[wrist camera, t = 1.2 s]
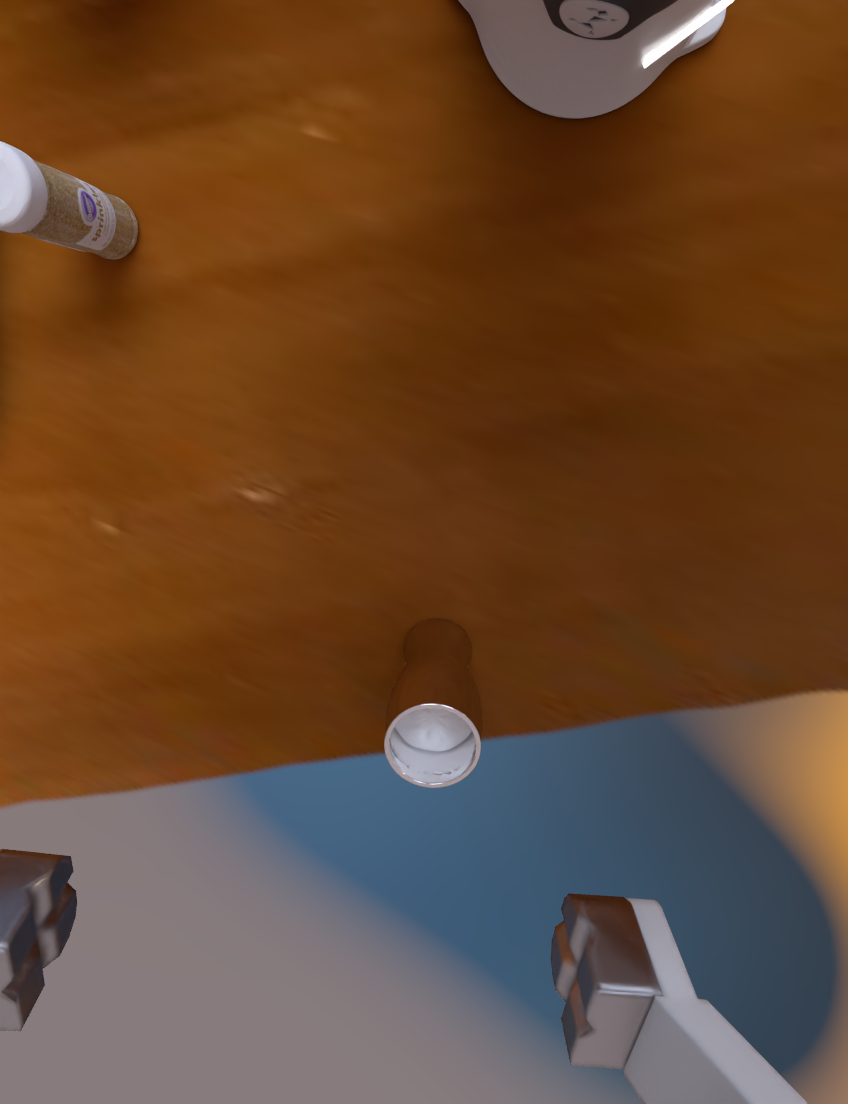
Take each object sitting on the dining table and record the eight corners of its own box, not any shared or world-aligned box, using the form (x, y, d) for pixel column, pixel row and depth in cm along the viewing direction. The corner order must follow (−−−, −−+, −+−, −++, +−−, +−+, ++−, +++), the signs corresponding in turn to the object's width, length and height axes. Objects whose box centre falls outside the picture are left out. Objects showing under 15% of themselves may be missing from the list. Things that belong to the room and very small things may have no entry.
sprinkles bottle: (150, 248, 49) (42, 211, 36) (96, 268, 50) (-29, 239, 37) (124, 184, 48) (4, 122, 35) (70, 205, 48) (-69, 151, 36)
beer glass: (388, 669, 59) (367, 771, 44) (414, 602, 57) (401, 686, 42) (460, 694, 59) (461, 804, 45) (488, 629, 57) (500, 721, 43)
